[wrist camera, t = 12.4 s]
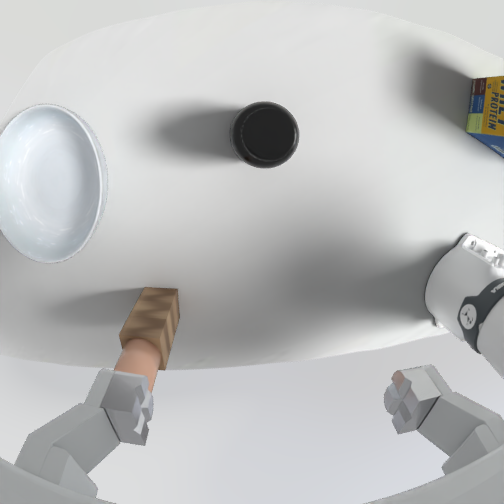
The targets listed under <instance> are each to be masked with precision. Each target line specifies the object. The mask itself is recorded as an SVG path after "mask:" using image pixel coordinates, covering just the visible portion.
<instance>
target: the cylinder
mask: <svg viewBox="0 0 504 504" xmlns="http://www.w3.org/2000/svg"><path fill="white" fill-rule="evenodd" d="M160 361H161V353H160V351H159V349H158V348H157V347H156V346H155V345H154V344H153V343H151V342H150V341H148V340H145V339H141V338H134V339H131V340H129V341H127V343H126V344H125V346H124V348H123V350H122V353H121V355H120V357H119V359H118V362H117V364H116V366H115V368H114V371H121V372H126V373H133V374H139V375H145V376H147V377H148V381H149V386H148V390H149V391H150V392H151V393H152V390H153V386H154V382H155V379H156V375H157V372H158V368H159V365H160Z"/></svg>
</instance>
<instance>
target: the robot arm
mask: <svg viewBox="0 0 504 504" xmlns="http://www.w3.org/2000/svg"><path fill="white" fill-rule="evenodd" d="M425 302H426V306H427V309H428V310H429V312H430V313H431V314H432V315H433V316H434V317H435V322H436V325H437V326H438V327H439V328H446V329H447V330H449V331H450V332H451V333H452V334H453V335H454V336H455V337H457V338H458V339H459V340H460V341H462V342H464V341H467V343H468V344H469V346H470V347H471V348H472V349H474V350H475V351H476V352H477V353H479V354H482V355H483V356H484V357H485V358H486V360H487V361H488V362H489V363H490V364H491V365H492V366H493V368H494V369H495V370H496V371H497V372H498V373H499V375H500V376H501V377H502V378H503V379H504V250H503V249H501V248H499V247H497V246H495V245H493V244H491V243H489V242H487V241H484V240H482V239H480V238H478V237H476V236H474V235H471V234H469V233H467V234H465V235H464V236H463V237H462V239H461V240H460V241H459V243H458V244H457V246H456V247H454V248H453V249H452V250H450V251H449V252H448V253H447V254H445V255H444V256H443V257H442V259H441V260H440V261H439V262H438V263H437V265H436V266H435V268H434V270H433V271H432V273H431V275H430V278H429V280H428V283H427V287H426V292H425ZM392 381H393V383H392V384H391V385H390V386H388V388H387V389H386V392H385V394H384V403H385V408H386V410H387V412H389V413H390V414H392V415H393V418H392V423H393V425H394V427H395V429H396V431H397V433H398V434H402V433H406V432H410V431H414V430H417V431H418V432H419V433H420V434H422V435H423V436H424V437H425V438H427V439H428V440H429V441H431V442H432V443H433V444H434V445H436V446H437V447H438V448H439V449H441V450H442V451H443V452H445V453H446V454H447V455H448V456H450V458H449V459H448V460H447V461H446V462H445V463H444V464H443V466H442V470H443V471H444V474H445V476H443V477H440V478H438V479H436V480H434V481H431V482H429V483H426V484H424V485H421V486H418V487H416V488H413V489H410V490H408V491H405V492H402V493H399V494H395V495H392V496H389V497H386V498H382V499H379V500H375V501H372V502H368V503H364V504H504V420H503V419H502V417H501V416H500V415H499V414H497V413H495V412H493V411H491V410H490V409H488V408H486V407H484V406H482V405H480V404H478V403H476V402H474V401H472V400H470V399H469V398H467V397H465V396H463V395H461V394H459V393H457V392H452V390H451V389H450V388H449V386H448V385H447V383H446V382H445V381H444V379H443V378H442V376H441V375H440V373H439V372H438V371H437V369H436V368H435V367H434V366H433V365H431V364H430V365H425V366H420V367H415V368H409V369H404V370H398V371H396V372H395V373H394V374H393V376H392ZM148 386H149V381H148V377H147V376H145V375H139V374H133V373H126V372H121V371H114V370H108V369H102V370H100V371H99V373H98V375H97V377H96V379H95V381H94V383H93V385H92V388H91V390H90V392H89V394H88V397H87V398H86V401H85V403H84V404H82V403H80V404H78V405H76V406H74V407H73V408H71V409H70V410H68V411H66V412H65V413H63V414H62V415H60V416H58V417H57V418H55V419H54V420H52V421H50V422H49V423H47V424H45V425H44V426H42V427H40V428H39V429H37V430H35V431H34V432H32V433H31V434H29V435H28V437H27V439H26V441H25V443H24V445H23V447H22V449H21V451H20V453H19V456H18V458H17V460H16V462H15V464H14V465H13V464H11V463H9V462H8V461H6V460H4V459H2V458H0V504H116V503H112V502H108V501H104V500H100V499H97V498H96V495H97V490H98V488H97V486H96V485H95V483H93V481H92V480H91V479H90V478H89V477H88V476H87V474H88V473H89V472H90V471H91V470H92V469H93V468H94V467H95V466H96V465H98V464H99V463H100V462H101V461H102V460H103V459H104V458H105V457H106V456H107V455H108V454H109V453H110V452H112V451H113V450H114V449H115V448H116V447H117V446H118V445H119V444H120V442H124V443H130V444H136V445H143V446H145V443H146V440H147V435H148V431H149V429H148V426H147V422H148V421H150V420H151V418H152V414H153V396H152V393H151V392H150V391H149V390H148Z"/></svg>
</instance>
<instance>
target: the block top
mask: <svg viewBox="0 0 504 504" xmlns="http://www.w3.org/2000/svg"><path fill="white" fill-rule="evenodd" d="M119 337H120V341H121V345H122V349H123V348H124V346H125V344H126V343H127V341H129V340H131V339H134V338H141V339H145V340H148V341H150V342H151V343H153V344H154V345H155V346H156V347H157V348H158V349H159V351H160V353H161V361H160V365H159V368H158V370H165V369H166V365H167V361H168V358H169V354H170V350H171V349H170V342H169V335H168V327H167V319H160V318H146V317H134V316H129V317H128V318H127V320H126V322H125V324H124V326H123V328H122V330H121V332H120V334H119Z"/></svg>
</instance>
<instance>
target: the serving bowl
mask: <svg viewBox="0 0 504 504" xmlns="http://www.w3.org/2000/svg"><path fill="white" fill-rule="evenodd" d="M107 191H108V173H107V165H106V160H105V156H104V153H103V150H102V147H101V145H100V142H99V140H98V138H97V136H96V135H95V133H94V132H93V130H92V129H91V127H90V126H89V125H88V124H87V123H86V122H85V121H84V120H83V119H82V118H81V117H80V116H78V115H77V114H75V113H74V112H72V111H70V110H68V109H66V108H64V107H61V106H58V105H53V104H39V105H35V106H32V107H29V108H27V109H25V110H23V111H22V112H20V113H19V114H18V115H17V116H15V117H14V118H13V119H12V120H11V121H10V122H9V124H8V125H7V126H6V127H5V129H4V130H3V132H2V134H1V135H0V230H1V232H2V233H3V235H4V236H5V238H6V239H7V240H8V242H9V243H10V244H11V245H12V246H13V247H14V248H15V249H16V250H17V251H18V252H20V253H21V254H22V255H24V256H26V257H27V258H29V259H31V260H34V261H37V262H41V263H58V262H62V261H65V260H67V259H69V258H71V257H73V256H74V255H75V254H77V253H78V252H79V251H80V250H81V249H82V248H83V247H84V246H85V245H86V244H87V242H88V241H89V240H90V238H91V237H92V235H93V234H94V232H95V230H96V229H97V227H98V225H99V222H100V220H101V218H102V215H103V212H104V208H105V204H106V199H107Z"/></svg>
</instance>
